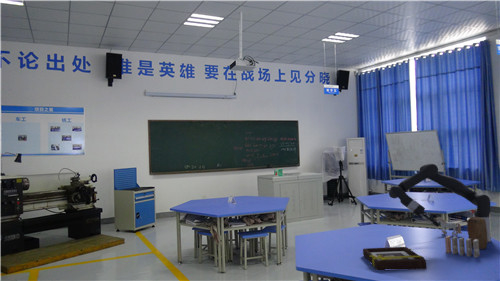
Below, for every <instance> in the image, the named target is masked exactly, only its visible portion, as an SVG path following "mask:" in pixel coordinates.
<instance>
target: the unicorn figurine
mask: <svg viewBox="0 0 500 281" xmlns="http://www.w3.org/2000/svg"><path fill="white" fill-rule="evenodd" d="M433 218H434V217H433ZM434 220H435V221H436V222H437V223H439V224H440V226H441V228H440V231H441V233H442V234H443V235H444V236H445V235H446V236H448V235H447V234H448V232H447V231H446V229H453V231H452V233H451V235H452V236H453V237H454V236H457V235H460V234H463V232H462V226H461V224H460V223H459V222H452V221H451V222H450V221H449V222H448V221H447V220H445V219H444V218H443V217H440V216H439V217H435V218H434Z"/></svg>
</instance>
